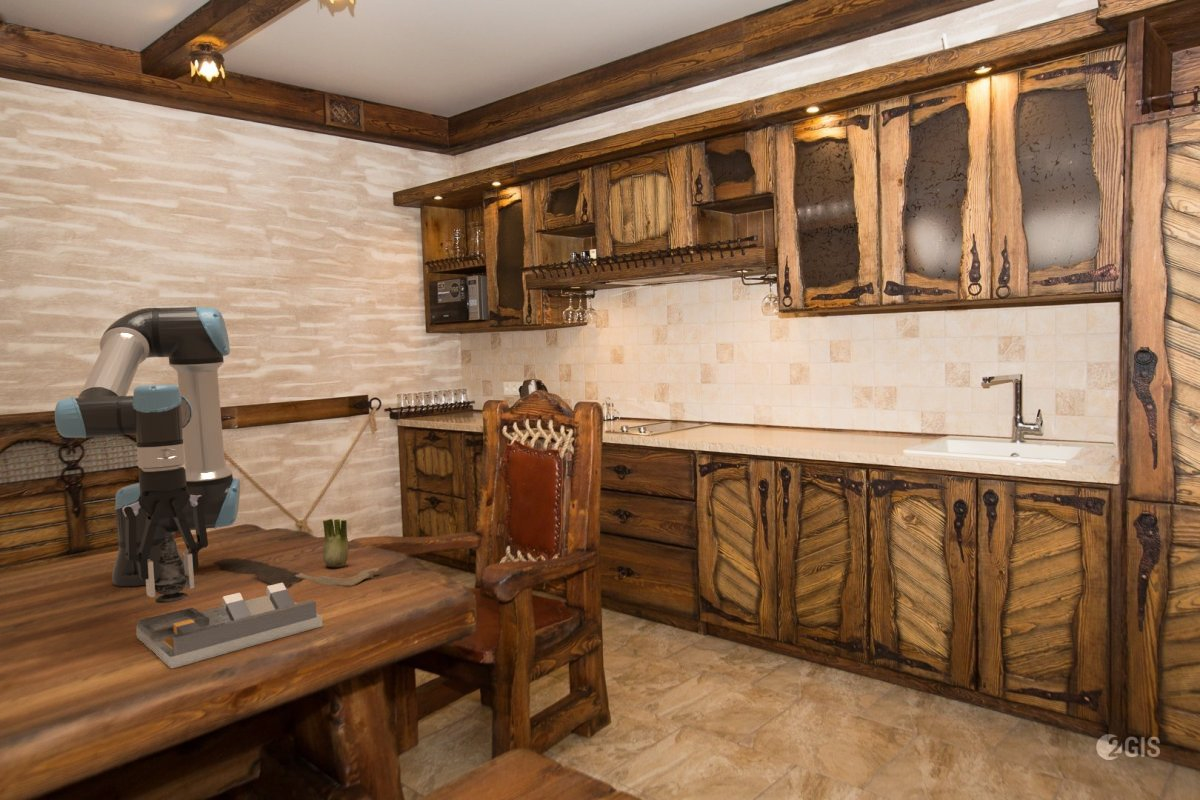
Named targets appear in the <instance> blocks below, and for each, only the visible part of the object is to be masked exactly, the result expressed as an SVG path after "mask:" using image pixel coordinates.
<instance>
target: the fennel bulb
mask: <svg viewBox="0 0 1200 800" xmlns="http://www.w3.org/2000/svg"><path fill="white" fill-rule="evenodd" d="M322 522H323V534H324V540H323V552H322V553H323V554H322V555H323V562H324V563H325V565H326V566H327V567H329V568H341V567H344V566H346V565H347V561H348V559H349V540H348V539H349V538H348V530H347V529H348V527H347V525H348V524H347V520H346V519H342V520H340V518H338V519H334V520H333V518H328V519H323V520H322Z"/></svg>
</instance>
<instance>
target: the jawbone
mask: <svg viewBox="0 0 1200 800" xmlns="http://www.w3.org/2000/svg"><path fill="white" fill-rule="evenodd" d="M378 571H381V569H380V568H378V567H377V568H376V567H374V568H373V567H372V568H367V569H364V570H362V571H360V572H359V573H358V574H356V575H353V576H349V577H345V578H343V577H341V578H340V577H330V576H325V575H321V576H319V577H318V576H316V577H315V576H310V575H307V574H305V573H303V572H301V573H298V574H295V575H294V577H295V578H297V579H301V580H304V579H305V580H308V581H311V582H313V583H316V584H319V585H324V586H333V587H336V586H337V587H338V586H339V587H345V588H349V586H350V587H355V586H357V585H358V584H360V582H362V581H365V580H370V579H369V578H372V579H373V578H374V574H373V573H374V572H378ZM354 585H355V586H354Z"/></svg>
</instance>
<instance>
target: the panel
mask: <svg viewBox="0 0 1200 800" xmlns="http://www.w3.org/2000/svg"><path fill="white" fill-rule="evenodd" d="M244 602H245V604H246V606H247V607H248V609H249V611H250V613H251V615H252V616H248V617H244V618H241V619H237V620H233V621H231V620H230V618H229V616H228V614H227V612H226V610H225V608H224V606H223V605H221V606H218V607H213V608H209V609H206V610H201V611H199V610H198V609H196V608H194V607H190V608H189V607H188V608H185V609H180V610H176V611H173V612H168V613H164V614H159V615H155V616H152V617H147V618H146V617H145V618H142V619H138V620H137V621H136V623H137V625H136V626H135V627H136V628H135V631H136V638H137V639H138V640H139V641H140V642H141V641H142V642H141V643H142V644H143V643H144V644H143V645H145V646H146V647H147V649H149V650H150V651H151V650H152V651H153V652H154V653H155V654H156V655H155V654H154V653H153V652H152V651H151V652H152V653H153V654H154V655H155V656H157V658H159V659H160V660H161V661H162V663H164V664H165V665H167V666H168V668H169V669H171V670H172V669H176V668H179V667H180V668H181V667H183V666H186V665H191V664H194V663H197V662H200V661H205V660H208V659H211V658H215V657H218V656H222V655H226V654H229V653H233V652H235V651H240V650H243V649H248V648H250V647H253V646H257V645H261V644H265V643H268V642H271V641H274V640H280V639H283V638H285V637H289V636H292V635H296V634H300V633H303V632H307V631H310V630H311V631H312V630H314V629H317V628H321V627H323V615H320V614H319V613H317V601H315V600H307V601H304V602H300V603H299V602H298V603H297V602H296V601H293V602H294V603H295V605H291V606H287V607H284V608H280V609H276V610H275V608H274V606H273V604H272V602H271V601H270V599H269V597H268V595H267V594H266V595H263V596H259V597H255V598H251V599H245V600H244ZM190 619H192V620H193V621H194V622H195V623H197V624H198V625H199V626H200V627H201V629H198V630H194V631H190V632H186V633H182V634H178V635H177V634H176V633H175V632H174V626H173V624H174V623H178V622H182V621H186V620H190Z"/></svg>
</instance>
